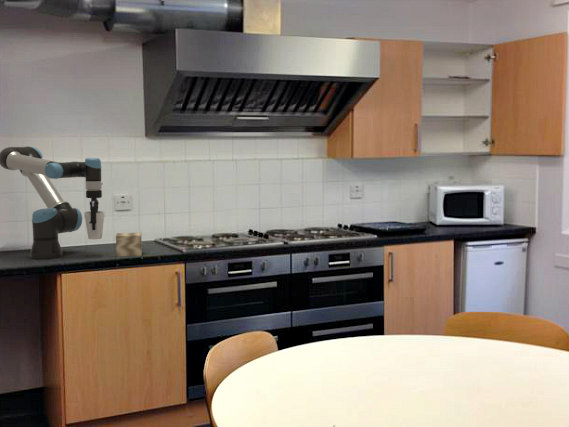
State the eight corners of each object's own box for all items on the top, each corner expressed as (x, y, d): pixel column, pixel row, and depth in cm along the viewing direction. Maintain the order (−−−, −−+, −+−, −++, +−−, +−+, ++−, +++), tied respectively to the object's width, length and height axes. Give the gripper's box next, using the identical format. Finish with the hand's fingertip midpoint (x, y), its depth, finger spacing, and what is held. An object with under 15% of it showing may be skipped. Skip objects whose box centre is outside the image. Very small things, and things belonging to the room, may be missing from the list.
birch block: (116, 256, 357) (115, 236, 356) (117, 252, 369) (117, 233, 368) (141, 255, 359) (140, 235, 358) (141, 252, 371) (141, 232, 370)
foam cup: (105, 236, 365) (105, 211, 363) (104, 239, 355) (103, 213, 354) (86, 237, 363) (85, 211, 362) (83, 239, 354) (83, 213, 353)
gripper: (100, 191, 347) (101, 238, 349) (103, 188, 368) (104, 232, 371) (83, 191, 345) (85, 238, 348) (87, 188, 367) (89, 232, 369)
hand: (95, 235), depth 359 cm, fingers closed on foam cup, 9 cm apart
